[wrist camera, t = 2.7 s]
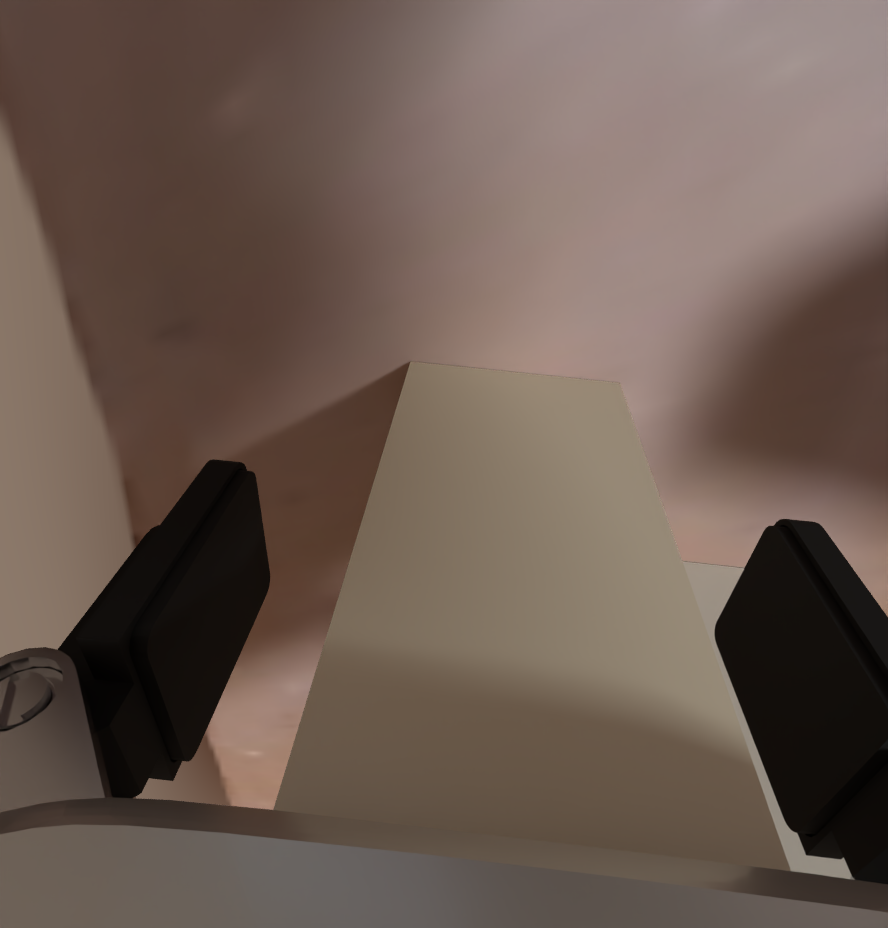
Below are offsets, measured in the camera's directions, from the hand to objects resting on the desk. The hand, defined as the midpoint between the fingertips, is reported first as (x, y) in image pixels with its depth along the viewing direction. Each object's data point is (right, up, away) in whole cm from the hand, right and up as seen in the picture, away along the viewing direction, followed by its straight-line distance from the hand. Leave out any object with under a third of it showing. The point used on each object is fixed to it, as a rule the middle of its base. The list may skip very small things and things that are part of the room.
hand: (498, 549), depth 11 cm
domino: (+1, +3, +3) cm, 5 cm away
